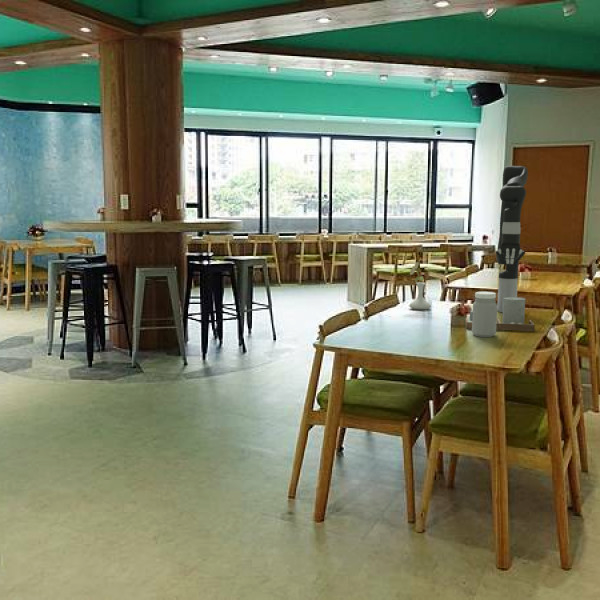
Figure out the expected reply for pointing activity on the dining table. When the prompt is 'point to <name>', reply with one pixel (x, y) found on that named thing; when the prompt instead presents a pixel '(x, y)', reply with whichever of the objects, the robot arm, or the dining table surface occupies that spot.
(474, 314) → the jar
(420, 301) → the flower in vase
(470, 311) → the block slate
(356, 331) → the dining table surface
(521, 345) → the dining table surface
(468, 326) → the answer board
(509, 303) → the speckled white canister
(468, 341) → the dining table surface
